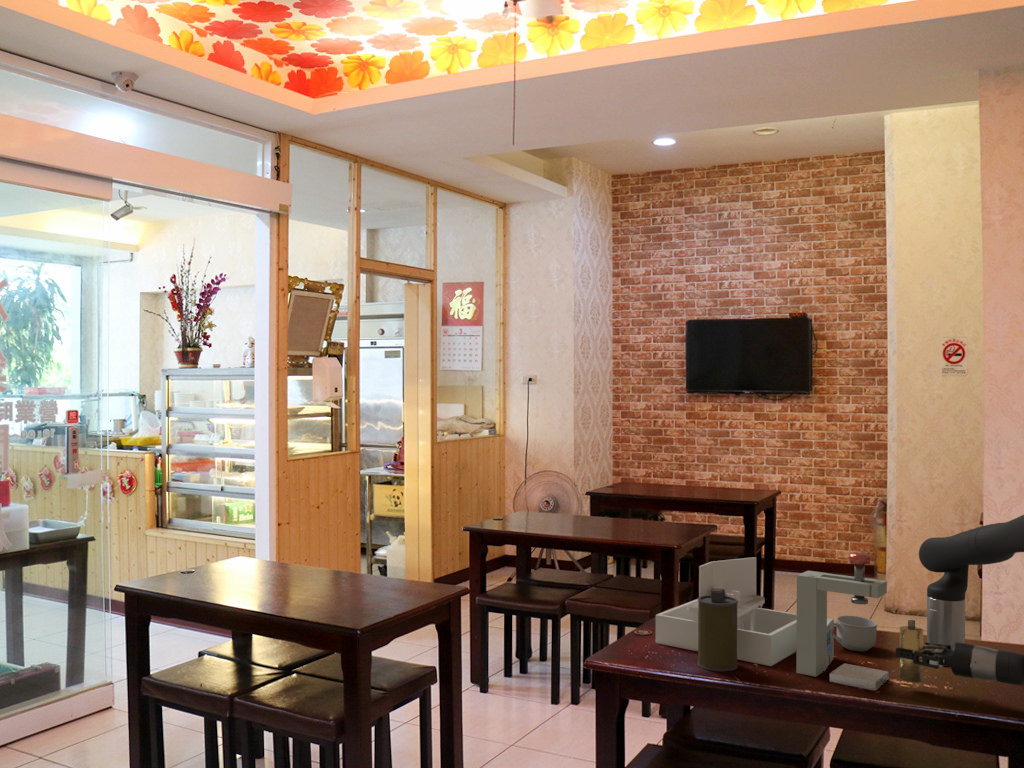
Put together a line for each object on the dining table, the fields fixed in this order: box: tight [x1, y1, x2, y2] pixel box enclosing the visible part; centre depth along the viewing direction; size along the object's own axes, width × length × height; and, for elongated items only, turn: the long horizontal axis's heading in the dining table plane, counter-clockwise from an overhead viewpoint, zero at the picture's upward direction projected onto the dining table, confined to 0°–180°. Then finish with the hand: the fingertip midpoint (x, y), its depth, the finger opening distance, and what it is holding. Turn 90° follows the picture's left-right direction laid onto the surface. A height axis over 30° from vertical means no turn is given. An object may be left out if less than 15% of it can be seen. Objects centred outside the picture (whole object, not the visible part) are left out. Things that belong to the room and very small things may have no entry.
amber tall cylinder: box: [899, 619, 924, 683], centre depth 218 cm, size 5×5×14 cm
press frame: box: [795, 570, 888, 678], centre depth 228 cm, size 8×20×25 cm, turn 52°
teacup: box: [834, 614, 878, 652], centre depth 254 cm, size 14×11×8 cm
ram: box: [848, 552, 871, 605], centre depth 226 cm, size 5×5×12 cm
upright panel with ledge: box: [688, 556, 766, 631], centre depth 259 cm, size 28×21×23 cm
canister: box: [696, 588, 739, 672], centre depth 237 cm, size 11×10×20 cm
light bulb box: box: [827, 617, 835, 667], centre depth 242 cm, size 11×7×11 cm, turn 151°
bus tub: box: [655, 598, 797, 667], centre depth 258 cm, size 27×34×8 cm
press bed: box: [829, 663, 890, 692], centre depth 225 cm, size 11×11×2 cm
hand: (899, 649), depth 220 cm, fingers closed on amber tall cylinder, 5 cm apart
